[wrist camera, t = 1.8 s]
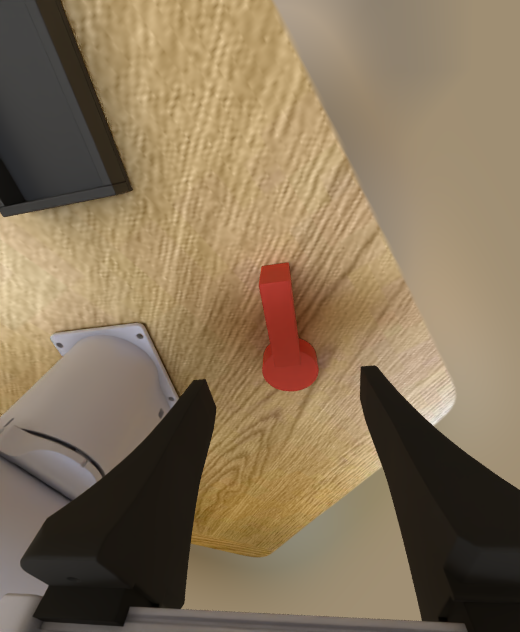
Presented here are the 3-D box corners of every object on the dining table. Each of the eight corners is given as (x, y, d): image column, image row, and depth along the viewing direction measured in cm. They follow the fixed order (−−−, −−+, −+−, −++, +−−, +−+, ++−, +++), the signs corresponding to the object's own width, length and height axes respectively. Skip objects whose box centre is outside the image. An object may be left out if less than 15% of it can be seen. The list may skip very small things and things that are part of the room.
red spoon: (243, 268, 18) (237, 287, 16) (307, 259, 17) (311, 277, 15) (267, 378, 23) (266, 405, 21) (317, 374, 23) (322, 401, 20)
